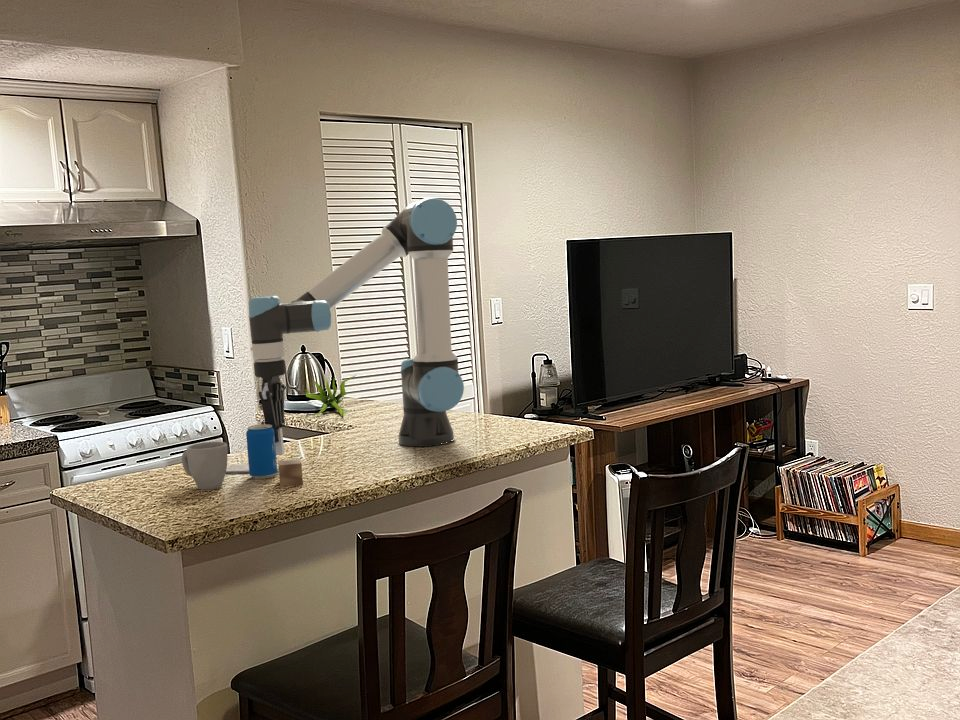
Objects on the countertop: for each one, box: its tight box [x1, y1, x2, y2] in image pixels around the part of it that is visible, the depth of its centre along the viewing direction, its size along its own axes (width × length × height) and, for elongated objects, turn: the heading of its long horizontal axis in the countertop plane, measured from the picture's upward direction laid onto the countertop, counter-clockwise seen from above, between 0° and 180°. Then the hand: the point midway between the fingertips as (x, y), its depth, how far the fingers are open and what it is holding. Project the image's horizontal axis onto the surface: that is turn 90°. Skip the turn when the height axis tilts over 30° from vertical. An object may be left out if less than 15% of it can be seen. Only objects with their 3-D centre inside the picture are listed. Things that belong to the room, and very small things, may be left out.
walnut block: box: [277, 458, 304, 488], centre depth 209 cm, size 5×5×5 cm
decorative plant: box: [305, 374, 357, 418], centre depth 310 cm, size 18×30×15 cm, turn 169°
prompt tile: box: [225, 463, 249, 475], centre depth 226 cm, size 9×9×1 cm
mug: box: [181, 441, 228, 491], centre depth 209 cm, size 12×9×10 cm
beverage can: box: [245, 423, 278, 480], centre depth 217 cm, size 6×6×12 cm
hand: (278, 454), depth 227 cm, fingers closed
